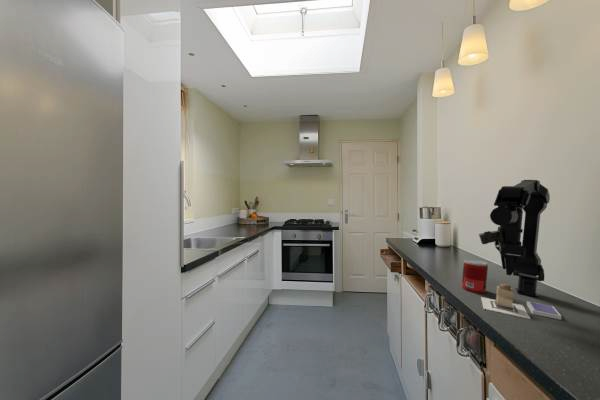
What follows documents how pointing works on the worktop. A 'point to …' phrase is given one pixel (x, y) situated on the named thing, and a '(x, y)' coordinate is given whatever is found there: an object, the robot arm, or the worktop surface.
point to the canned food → (474, 276)
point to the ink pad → (543, 310)
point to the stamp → (504, 297)
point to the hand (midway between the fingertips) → (506, 271)
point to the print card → (517, 309)
